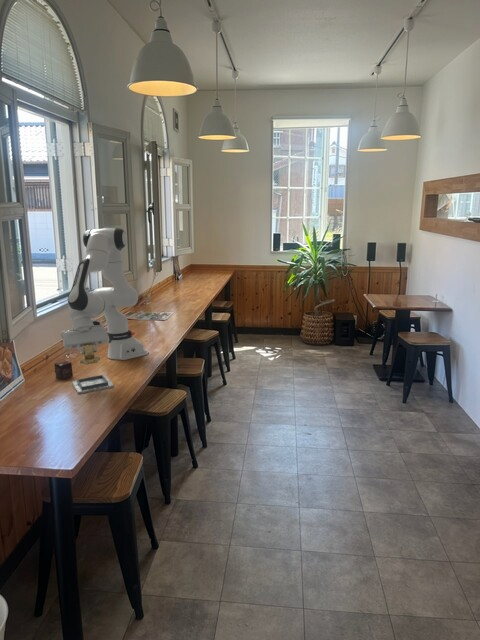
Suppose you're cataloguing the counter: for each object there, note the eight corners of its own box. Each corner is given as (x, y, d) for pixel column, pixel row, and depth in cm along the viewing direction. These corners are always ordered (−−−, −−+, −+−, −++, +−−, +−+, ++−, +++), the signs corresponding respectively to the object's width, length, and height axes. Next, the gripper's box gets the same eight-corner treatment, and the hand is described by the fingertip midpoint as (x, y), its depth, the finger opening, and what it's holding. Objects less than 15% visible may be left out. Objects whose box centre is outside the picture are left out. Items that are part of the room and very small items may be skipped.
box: (66, 373, 244) (65, 360, 243) (73, 376, 241) (71, 362, 239) (55, 377, 240) (53, 363, 238) (62, 379, 236) (60, 365, 234)
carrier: (105, 377, 237) (105, 372, 237) (113, 387, 224) (113, 382, 223) (72, 383, 230) (71, 379, 230) (78, 394, 216) (77, 389, 216)
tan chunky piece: (97, 357, 230) (96, 341, 228) (101, 362, 223) (99, 345, 221) (78, 360, 226) (76, 344, 224) (81, 365, 219) (80, 348, 217)
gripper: (60, 327, 222) (65, 353, 216) (105, 321, 231) (111, 345, 225) (59, 334, 227) (65, 360, 220) (103, 328, 236) (110, 352, 230)
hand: (89, 352), depth 223 cm, fingers closed on tan chunky piece, 4 cm apart
